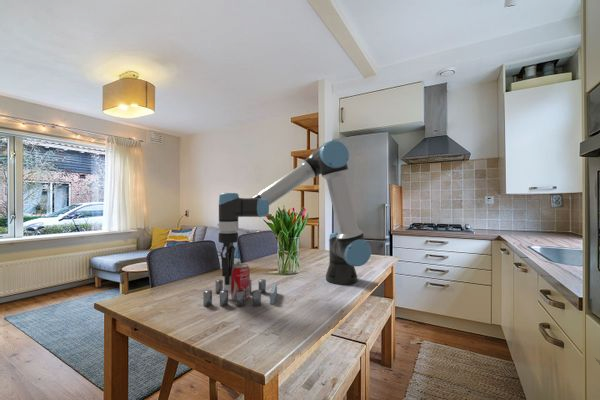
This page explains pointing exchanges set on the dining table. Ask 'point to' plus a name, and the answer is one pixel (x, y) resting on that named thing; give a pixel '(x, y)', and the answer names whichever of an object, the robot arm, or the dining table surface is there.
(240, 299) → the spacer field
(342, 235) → the robot arm
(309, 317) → the dining table surface
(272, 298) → the stop rail
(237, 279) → the soda can
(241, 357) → the dining table surface
